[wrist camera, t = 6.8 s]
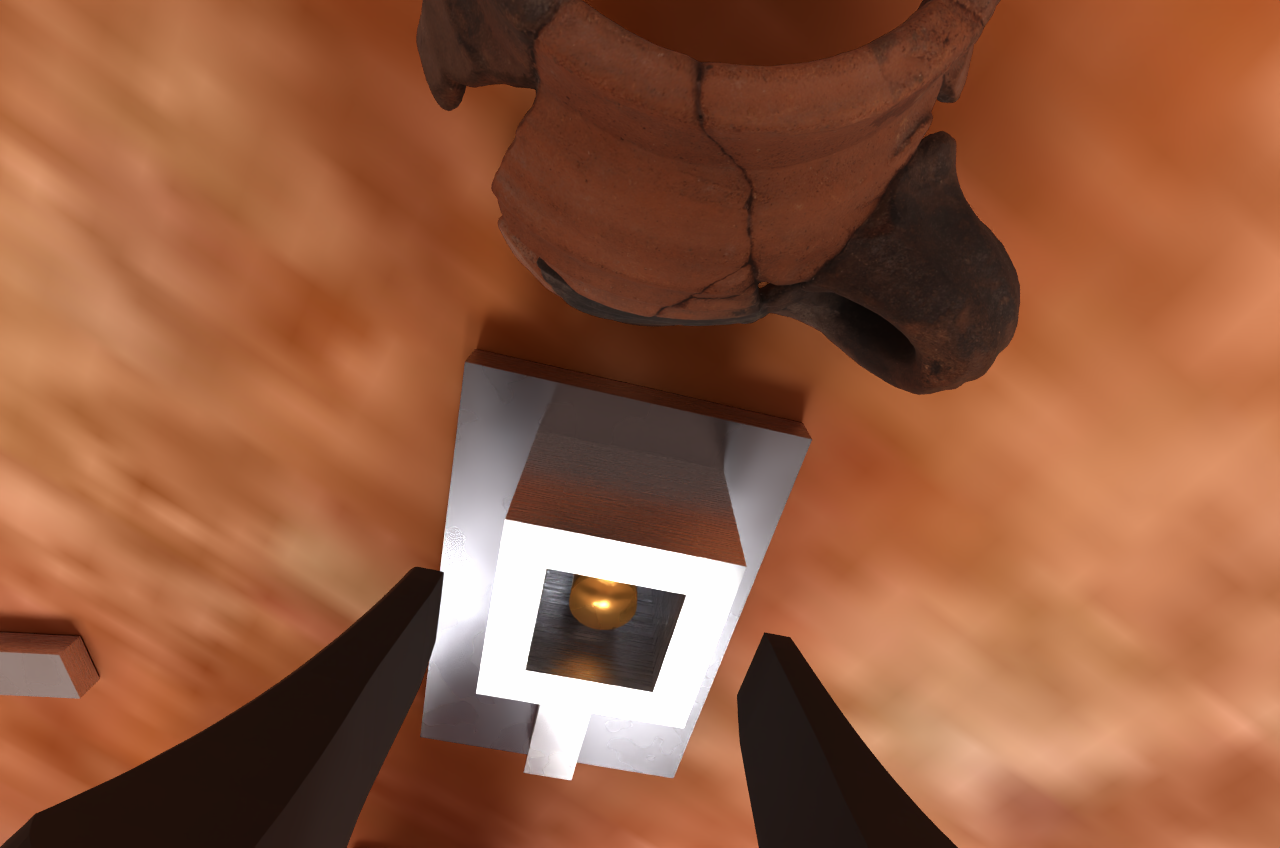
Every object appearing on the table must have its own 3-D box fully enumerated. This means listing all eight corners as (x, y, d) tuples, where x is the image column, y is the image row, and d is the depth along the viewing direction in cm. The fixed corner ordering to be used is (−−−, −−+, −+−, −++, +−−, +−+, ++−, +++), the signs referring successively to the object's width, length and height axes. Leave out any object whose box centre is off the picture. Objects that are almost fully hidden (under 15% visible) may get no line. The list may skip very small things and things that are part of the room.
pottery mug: (403, 205, 15) (159, -146, 6) (644, -58, 16) (701, -642, 7) (785, 513, 15) (1030, 561, 6) (997, 231, 16) (1437, -35, 8)
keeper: (672, 752, 22) (677, 870, 19) (429, 711, 21) (385, 827, 18) (802, 422, 16) (847, 502, 13) (475, 349, 15) (423, 411, 12)
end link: (675, 610, 18) (683, 728, 14) (511, 579, 17) (476, 693, 14) (723, 469, 16) (746, 566, 12) (537, 430, 15) (504, 519, 12)
